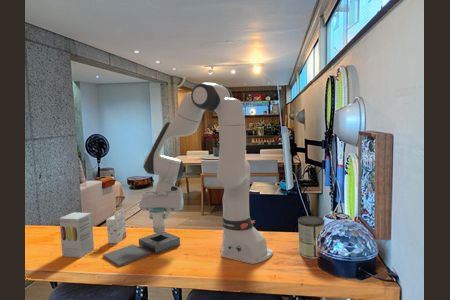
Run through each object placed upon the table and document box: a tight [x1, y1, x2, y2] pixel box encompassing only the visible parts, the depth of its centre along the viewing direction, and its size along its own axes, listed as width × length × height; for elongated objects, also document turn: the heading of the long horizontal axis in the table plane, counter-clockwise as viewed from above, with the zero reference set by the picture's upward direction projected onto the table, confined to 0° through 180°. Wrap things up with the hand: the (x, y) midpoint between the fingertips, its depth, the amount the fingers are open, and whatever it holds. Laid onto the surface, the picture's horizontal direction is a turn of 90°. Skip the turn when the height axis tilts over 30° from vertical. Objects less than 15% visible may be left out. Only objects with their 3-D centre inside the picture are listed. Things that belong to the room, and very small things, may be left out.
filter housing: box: [138, 231, 181, 255], centre depth 139 cm, size 13×13×4 cm
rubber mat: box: [102, 243, 151, 268], centre depth 130 cm, size 14×14×1 cm
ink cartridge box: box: [105, 208, 127, 244], centre depth 148 cm, size 9×5×15 cm, turn 168°
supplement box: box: [58, 211, 95, 259], centre depth 135 cm, size 10×9×17 cm
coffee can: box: [297, 215, 326, 260], centre depth 125 cm, size 10×10×14 cm
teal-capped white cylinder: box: [152, 208, 166, 234], centre depth 138 cm, size 5×5×10 cm
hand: (157, 218), depth 138 cm, fingers closed on teal-capped white cylinder, 5 cm apart
